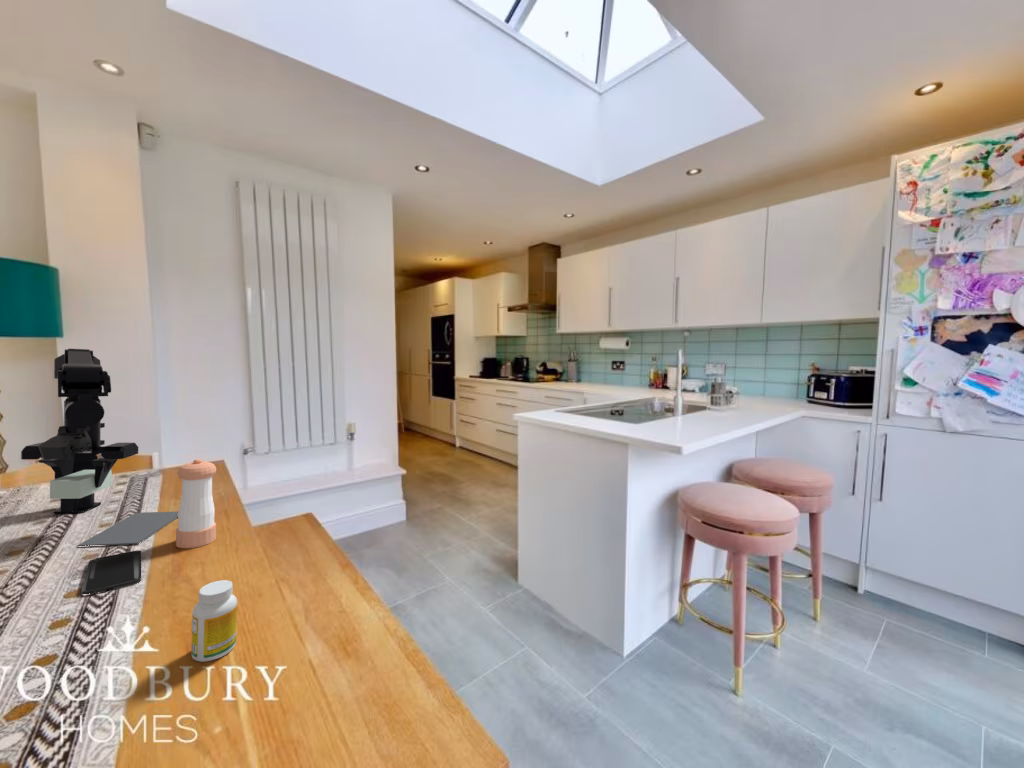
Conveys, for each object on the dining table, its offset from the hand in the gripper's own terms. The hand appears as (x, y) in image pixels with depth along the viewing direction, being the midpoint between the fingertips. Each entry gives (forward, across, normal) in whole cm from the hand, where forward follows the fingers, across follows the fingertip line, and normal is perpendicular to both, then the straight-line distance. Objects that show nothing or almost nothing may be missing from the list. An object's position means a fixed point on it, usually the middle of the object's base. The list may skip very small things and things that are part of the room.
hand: (82, 487), depth 93 cm
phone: (+12, +18, -20) cm, 29 cm away
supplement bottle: (+11, +46, -46) cm, 66 cm away
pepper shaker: (+11, +26, -7) cm, 29 cm away
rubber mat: (+11, +10, +2) cm, 15 cm away
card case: (+1, 0, 0) cm, 1 cm away
